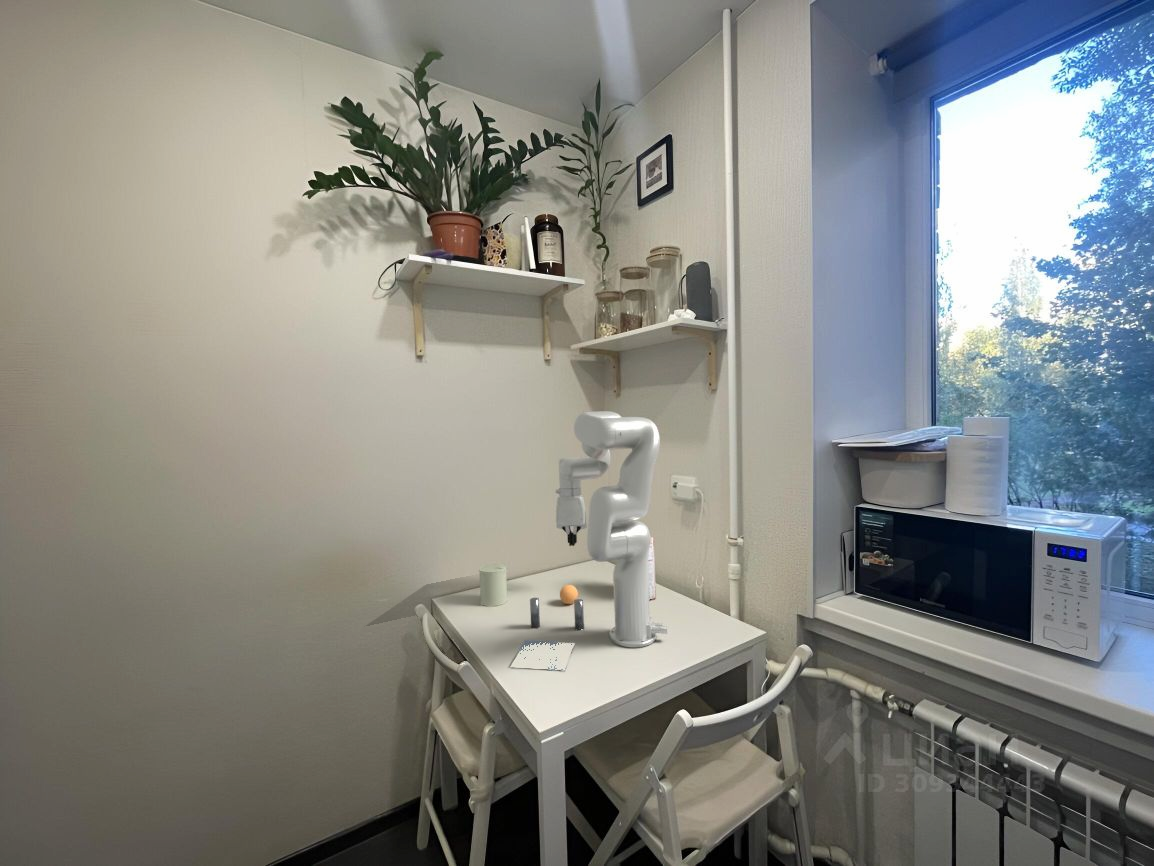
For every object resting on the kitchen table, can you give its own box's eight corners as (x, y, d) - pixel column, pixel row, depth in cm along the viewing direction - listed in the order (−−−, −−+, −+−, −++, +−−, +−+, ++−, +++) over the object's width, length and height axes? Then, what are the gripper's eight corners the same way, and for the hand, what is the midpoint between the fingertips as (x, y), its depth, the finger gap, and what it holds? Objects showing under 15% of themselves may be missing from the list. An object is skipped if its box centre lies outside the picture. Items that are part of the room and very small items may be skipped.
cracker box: (620, 589, 160) (617, 530, 160) (634, 586, 163) (632, 528, 162) (641, 602, 147) (638, 538, 147) (656, 599, 150) (654, 536, 150)
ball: (579, 600, 151) (579, 582, 151) (576, 607, 146) (575, 588, 145) (562, 599, 152) (561, 582, 152) (558, 606, 147) (557, 588, 147)
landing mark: (575, 643, 121) (575, 642, 121) (565, 671, 107) (565, 670, 107) (525, 641, 124) (525, 640, 124) (508, 668, 110) (508, 667, 110)
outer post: (540, 624, 133) (539, 597, 133) (538, 628, 131) (537, 601, 131) (532, 624, 134) (531, 597, 134) (529, 628, 131) (528, 601, 131)
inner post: (584, 626, 131) (583, 599, 131) (583, 630, 129) (582, 602, 129) (575, 626, 132) (574, 598, 132) (574, 630, 129) (573, 602, 129)
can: (502, 607, 148) (500, 570, 148) (475, 606, 150) (474, 570, 150) (511, 596, 157) (510, 562, 157) (486, 595, 159) (485, 561, 159)
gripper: (547, 494, 156) (549, 547, 156) (590, 494, 153) (592, 548, 153) (552, 491, 163) (554, 542, 163) (593, 490, 160) (595, 542, 161)
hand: (572, 544), depth 158 cm, fingers closed
